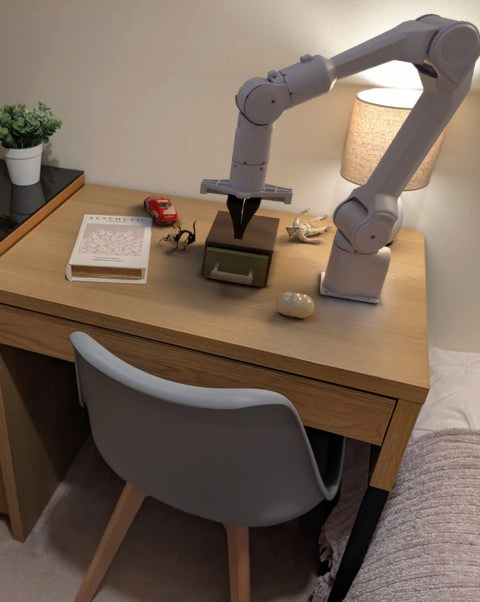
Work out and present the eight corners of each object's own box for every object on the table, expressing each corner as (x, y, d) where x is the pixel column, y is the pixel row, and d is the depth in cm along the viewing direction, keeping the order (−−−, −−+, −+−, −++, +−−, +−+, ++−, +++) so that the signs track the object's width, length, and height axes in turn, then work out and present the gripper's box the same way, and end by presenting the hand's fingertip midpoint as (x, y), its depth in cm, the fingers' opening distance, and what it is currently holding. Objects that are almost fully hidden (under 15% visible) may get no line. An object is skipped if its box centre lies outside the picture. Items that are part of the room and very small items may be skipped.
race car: (141, 205, 135) (141, 189, 133) (163, 203, 135) (164, 187, 133) (156, 228, 124) (157, 211, 122) (180, 226, 124) (181, 209, 122)
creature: (158, 258, 114) (198, 254, 112) (154, 235, 112) (194, 230, 109) (161, 241, 121) (199, 236, 119) (157, 218, 118) (195, 213, 116)
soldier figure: (338, 239, 120) (314, 240, 112) (317, 249, 123) (292, 250, 115) (324, 206, 122) (299, 205, 113) (304, 217, 125) (278, 216, 117)
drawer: (259, 300, 97) (265, 272, 94) (197, 289, 101) (201, 261, 97) (270, 253, 111) (274, 227, 108) (215, 245, 115) (218, 219, 112)
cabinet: (266, 286, 103) (273, 250, 99) (201, 275, 106) (205, 240, 102) (273, 251, 114) (280, 218, 110) (214, 243, 118) (218, 210, 114)
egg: (312, 311, 96) (317, 291, 93) (311, 324, 92) (316, 304, 90) (275, 305, 97) (279, 285, 95) (273, 317, 94) (277, 297, 92)
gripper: (199, 162, 88) (192, 240, 96) (297, 172, 84) (281, 253, 91) (208, 149, 94) (200, 223, 101) (299, 158, 89) (284, 235, 97)
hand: (238, 236), depth 97 cm, fingers closed
